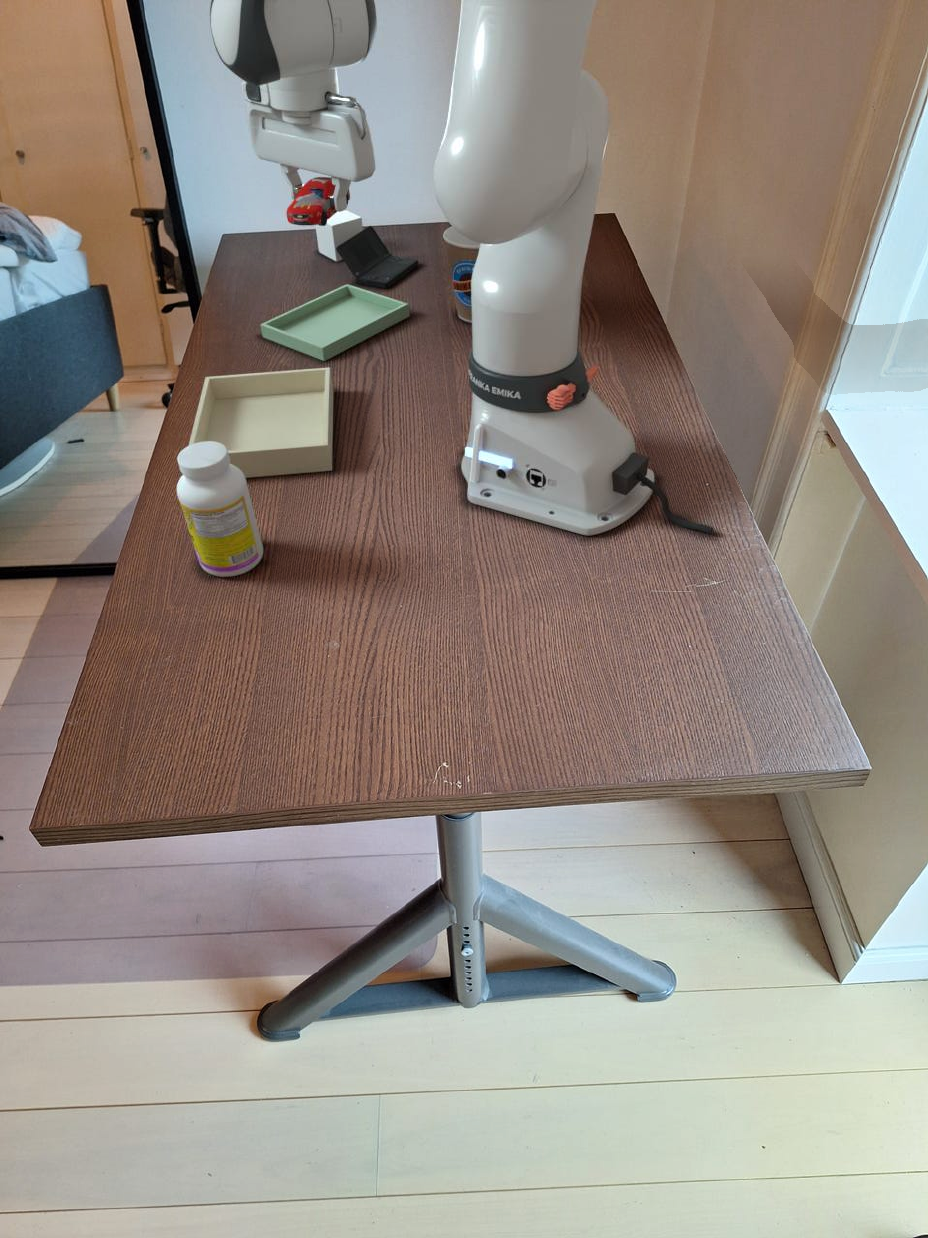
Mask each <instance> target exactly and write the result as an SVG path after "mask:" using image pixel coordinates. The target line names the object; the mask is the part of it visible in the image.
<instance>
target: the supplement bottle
mask: <svg viewBox="0 0 928 1238" xmlns="http://www.w3.org/2000/svg"><path fill="white" fill-rule="evenodd" d="M176 459H177V464H178V467H179V471H180V473H181V474H182V475H181V476H180V478H179V480H178V482H177V484H176V496H177V499H178V501H179V504H180V507H181V511H182V514H183V517H184V520H185V523H186V526H187V530H188V532H189V535H190V538H191V542H192V545H193V548H194V551H195V554H196V557H197V560H198V562H199V565H200V566H201V568H202V569H203V571H205V572H206V573H207V574H210V575H213V576H215V577H220V578H226V577H235V576H240V575H242V574H245V573H247V572H249V571H251V570H253V569H254V568H255V567H257V565H258V564H259V563H260V561H261V560H262V558H263V556H264V555H263V554H264V545H263V541H262V537H261V533H260V530H259V525H258V521H257V517H256V514H255V510H254V507H253V506H254V505H253V503H252V499H251V493H250V490H249V487H248V482H247V479H246V478H245V476H244V474H243V473H242V471H241V470H240V469H239V468H237V467H236V466H234V465H232V464H230V457H229V454H228V450H227V448H226V447H225V446H224V445H223V444H221V443H219V442H214V441H205V442H198V443H195V444H192V445H189V444H188V446H186V447H184V448H183V449H182V450H181V451H180V452H179V453H178V454H177V458H176Z"/></svg>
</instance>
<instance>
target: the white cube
mask: <svg viewBox="0 0 928 1238" xmlns="http://www.w3.org/2000/svg"><path fill="white" fill-rule="evenodd" d="M363 226H364V225H363V218H362V217H361V216H359V215H357V214H356V213H353V212H351V211H349V210H347V209H346V210H344V211H341V212H338V211H337V212H336V213H335V214H334V215H333V216H332V217H331V218H329V219H327V223H326V225H325V226H319V225H314V227H315V233H316V240H317V248H318V253H320V254H321V255H323V256H325V257H327V258H329V259H331V260H333V261H335V262H336V263H337V262H340V261H343V259H342V258H341V256H340V255H339V253H338V252H337V250H336V248H337V247H338V246H339V245H340V244H342V243H344V242H345V241H347V240H348V239H350V238H351V237H353V236H355V235H356V234H358V233H359V232H361V231H362V230H364V227H363Z"/></svg>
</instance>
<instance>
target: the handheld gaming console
mask: <svg viewBox="0 0 928 1238" xmlns="http://www.w3.org/2000/svg"><path fill="white" fill-rule="evenodd" d="M336 250H337V252H338V253H339V255H340V256H341V258H342V259H343V260H342V261H343V262H344V264H345V265H346V266H347V268H348V270H349V271H350V272H351V274H352V275H353V276H354V278H355V283H356V284H358V285H362V286H363V285H364V286H369V287H375V288H380V289H385V290H387V289H388V288H390V287H391V286H393V285H394V284H395V283H396V282H398V281H399V280H401V279H402V278H403V277H405V276H406V275H408V274H409V273H410V272H412V271H413V270H414V269H416V268H417V267H418V266H419V260H418V259H416V258H411V257H404V256H398V255H393V254H392V253H391V252H390V251H389V250H388V247H386V245H385V244H384V241H382V239H381V238H380V235H378V233H377V231H376V230H375V229H374V226H372V225H369V226H367V227H365V228H363V230H362V231H361V232H359V233H358V234H356V235H355V236H353V237H351V238H350V239H348V240H347V241H345V242H344V243H342V244H340V245H339V246H338V247H337V248H336Z"/></svg>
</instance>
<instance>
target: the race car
mask: <svg viewBox="0 0 928 1238" xmlns="http://www.w3.org/2000/svg"><path fill="white" fill-rule="evenodd" d="M335 186H336V185H333V184H332V177H331V176H328V177H327V176H316V177H313V178H311V179H309V180H308V181H306V182H305V185H304V186H303V187H302V188H301V189H300V191H299V193H294V195H296V196H297V197H296V198H295V200H294V199H293V201H292V202H291V203H290V204H289V206H287V208H286V219H287V222H288V223H289V224H290V225H295V226H315V225H319V226H325V225H326V223H327V219H329V218H331V217H332V216H333V215H334V214H335V213H336V212H337V211H335V210H332V209H331V208H330V201H329V197H330V196H332V195H334V191H335ZM350 193H351V192H350V188H349V189H348V192H347V195H346V201H347V206H348V204H349V201H350V200H351V194H350Z"/></svg>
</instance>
